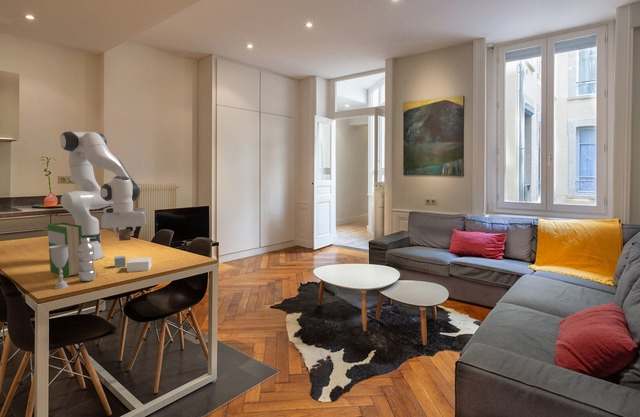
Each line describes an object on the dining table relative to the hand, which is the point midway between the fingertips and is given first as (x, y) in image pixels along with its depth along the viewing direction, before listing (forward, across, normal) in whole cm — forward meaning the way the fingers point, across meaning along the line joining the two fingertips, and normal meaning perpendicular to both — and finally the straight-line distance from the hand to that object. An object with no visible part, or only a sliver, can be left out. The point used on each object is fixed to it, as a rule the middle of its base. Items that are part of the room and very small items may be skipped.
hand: (124, 235), depth 186 cm
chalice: (+18, +25, +19) cm, 36 cm away
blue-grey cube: (+18, +3, -10) cm, 21 cm away
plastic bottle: (+18, +16, +13) cm, 27 cm away
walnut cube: (+2, 0, 0) cm, 2 cm away
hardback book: (+18, +26, -6) cm, 32 cm away
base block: (+18, -6, 0) cm, 19 cm away
